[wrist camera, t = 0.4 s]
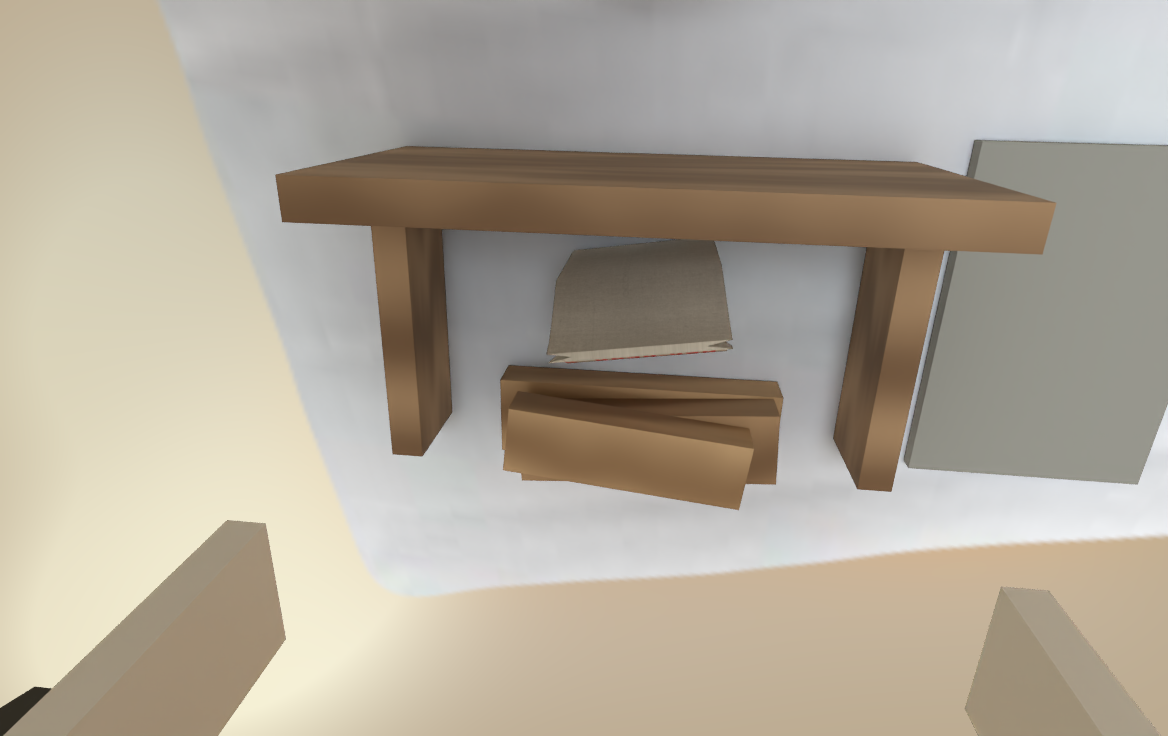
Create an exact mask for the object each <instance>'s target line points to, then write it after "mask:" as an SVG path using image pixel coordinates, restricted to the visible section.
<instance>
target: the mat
mask: <svg viewBox="0 0 1168 736" xmlns="http://www.w3.org/2000/svg"><path fill="white" fill-rule="evenodd" d="M967 177H970V178H973V179H977V180H980V181H983V182H987V183H990V184H994V185H997V186H1001V187H1004V188H1007V189H1011V190H1014V191H1018V192H1021V193H1025V194H1028V195H1032V196H1035V197H1038V198H1042V199H1045V200H1049V201H1052V202H1056V207H1055V211H1054V214H1053V218H1052V222H1051V225H1050V229H1049V233H1048V236H1047V240H1046V244H1045V247H1044V251H1043V255H1039V254H1016V253H992V252H969V251H950V255H949V259H948V264H947V268H946V273H945V277H944V282H943V286H942V291H941V295H940V300H939V304H938V309H937V313H936V318H935V322H934V327H933V331H932V336H931V340H930V345H929V349H928V354H927V358H926V362H925V367H924V371H923V376H922V380H921V385H920V389H919V394H918V398H917V403H916V407H915V412H914V416H913V421H912V425H911V430H910V434H909V439H908V443H907V448H906V452H905V457H904V461H905V463H906V465H907V466H908V468H916V469H929V470H943V471H957V472H971V473H985V474H999V475H1013V476H1027V477H1041V478H1054V479H1068V480H1082V481H1096V482H1110V483H1124V484H1138V482H1139V479H1140V477H1141V474H1142V471H1143V469H1144V466H1145V463H1146V461H1147V458H1148V455H1149V453H1150V450H1151V447H1152V445H1153V442H1154V439H1155V437H1156V434H1157V431H1158V428H1159V426H1160V423H1161V420H1162V418H1163V415H1164V412H1165V410H1166V407H1167V404H1168V145H1133V144H1098V143H1062V142H1027V141H991V140H975V142H974V147H973V151H972V156H971V160H970V165H969V169H968V174H967Z"/></svg>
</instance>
